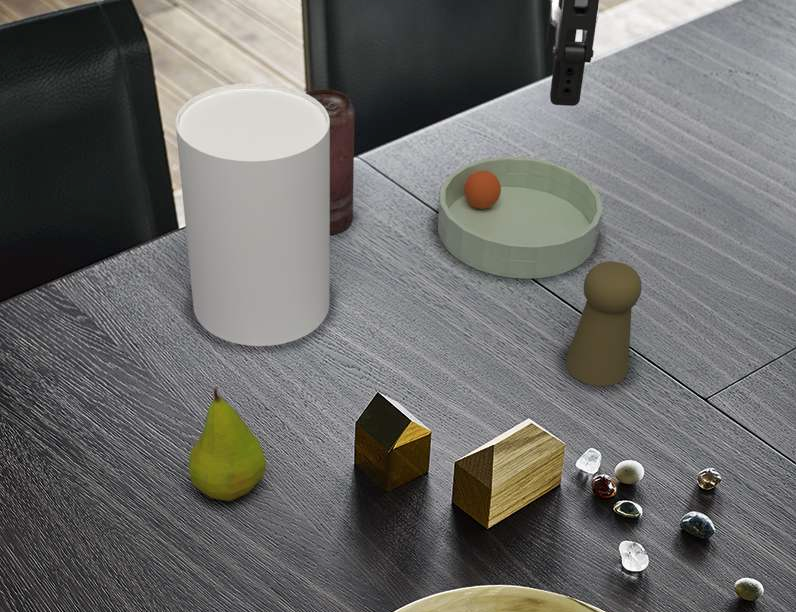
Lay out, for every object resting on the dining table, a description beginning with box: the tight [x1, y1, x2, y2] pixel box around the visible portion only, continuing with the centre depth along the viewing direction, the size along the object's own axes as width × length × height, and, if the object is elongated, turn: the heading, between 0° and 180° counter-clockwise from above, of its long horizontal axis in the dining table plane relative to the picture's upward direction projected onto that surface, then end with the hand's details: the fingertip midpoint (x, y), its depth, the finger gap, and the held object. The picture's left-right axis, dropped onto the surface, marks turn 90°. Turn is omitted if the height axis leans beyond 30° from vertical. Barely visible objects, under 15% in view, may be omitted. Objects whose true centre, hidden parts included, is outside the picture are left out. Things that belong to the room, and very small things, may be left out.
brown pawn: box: [565, 260, 642, 387], centre depth 117 cm, size 6×6×11 cm
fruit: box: [188, 386, 267, 502], centre depth 103 cm, size 6×6×12 cm
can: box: [305, 88, 355, 236], centre depth 131 cm, size 6×6×14 cm
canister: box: [175, 82, 331, 347], centre depth 118 cm, size 14×14×20 cm
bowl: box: [437, 155, 604, 280], centre depth 134 cm, size 17×17×4 cm
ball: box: [464, 171, 501, 209], centre depth 137 cm, size 4×4×4 cm
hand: (561, 76), depth 98 cm, fingers open, 8 cm apart
